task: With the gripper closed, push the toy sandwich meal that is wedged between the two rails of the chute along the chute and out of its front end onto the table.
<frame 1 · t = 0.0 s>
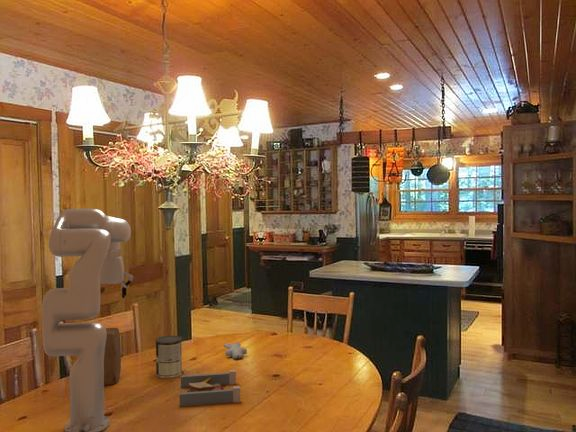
hand: (110, 297, 194), 31 cm above the table, tool pointing down, fingers open, 9 cm apart
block: (109, 381, 191), on the table
coffee can: (169, 374, 199), on the table
chute: (209, 393, 177), on the table
toy sandwich meal: (206, 395, 177), on the table
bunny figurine: (234, 356, 224), on the table
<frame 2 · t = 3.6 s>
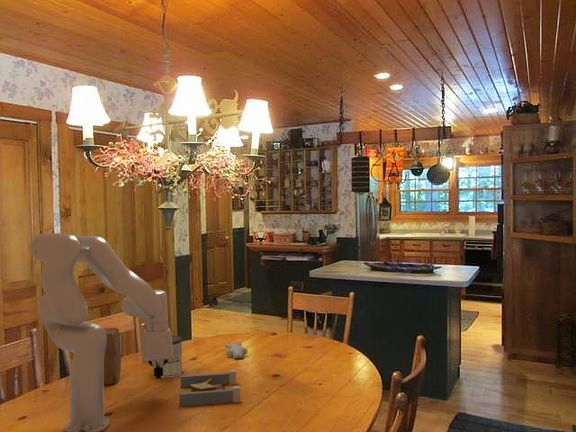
hand: (158, 377, 174), 7 cm above the table, tool pointing down, fingers closed
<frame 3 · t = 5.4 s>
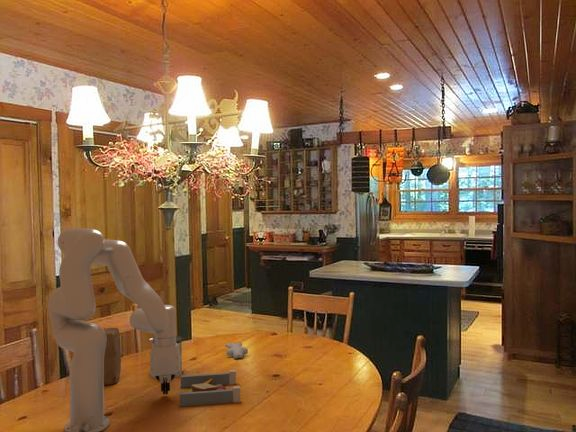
hand: (165, 393, 174), 1 cm above the table, tool pointing down, fingers closed
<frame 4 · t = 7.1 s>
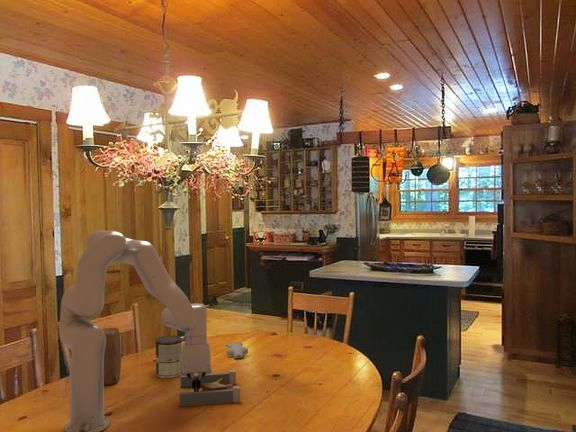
hand: (196, 390, 176), 1 cm above the table, tool pointing down, fingers closed
toy sandwich meal: (219, 395, 176), on the table
everything else where it was.
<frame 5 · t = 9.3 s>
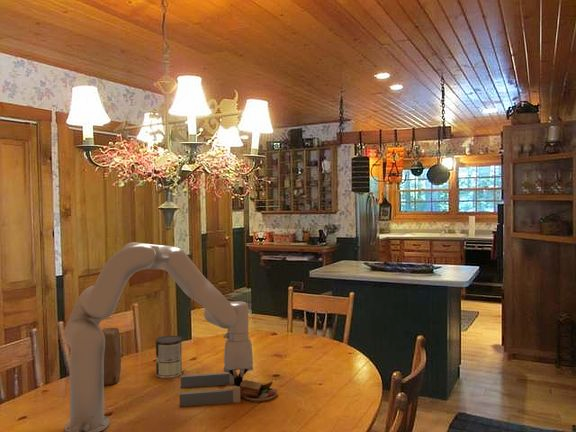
hand: (238, 386, 179), 2 cm above the table, tool pointing down, fingers closed
toy sandwich meal: (257, 397, 175), on the table, touching gripper
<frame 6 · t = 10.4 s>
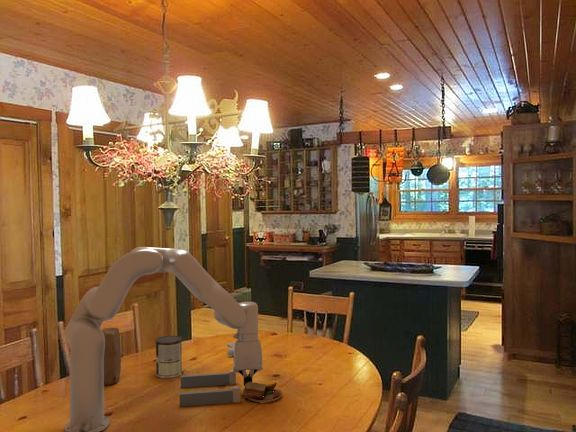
hand: (247, 387, 180), 1 cm above the table, tool pointing down, fingers closed
toy sandwich meal: (262, 398, 174), on the table
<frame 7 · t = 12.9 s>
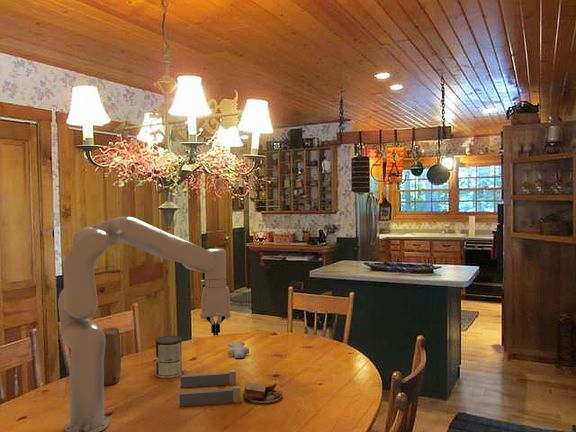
hand: (215, 334, 177), 21 cm above the table, tool pointing down, fingers closed
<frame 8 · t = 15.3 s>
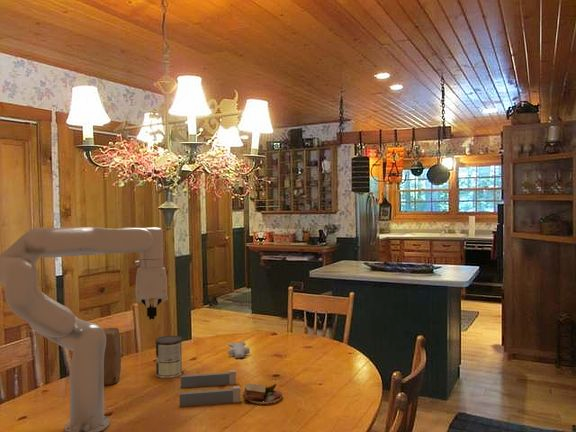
hand: (151, 318, 167), 29 cm above the table, tool pointing down, fingers closed
at the end: toy sandwich meal inside the target area (12.7 cm from its centre), on the table; toy sandwich meal moved 20.8 cm from its start; toy sandwich meal tilted 0° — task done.
